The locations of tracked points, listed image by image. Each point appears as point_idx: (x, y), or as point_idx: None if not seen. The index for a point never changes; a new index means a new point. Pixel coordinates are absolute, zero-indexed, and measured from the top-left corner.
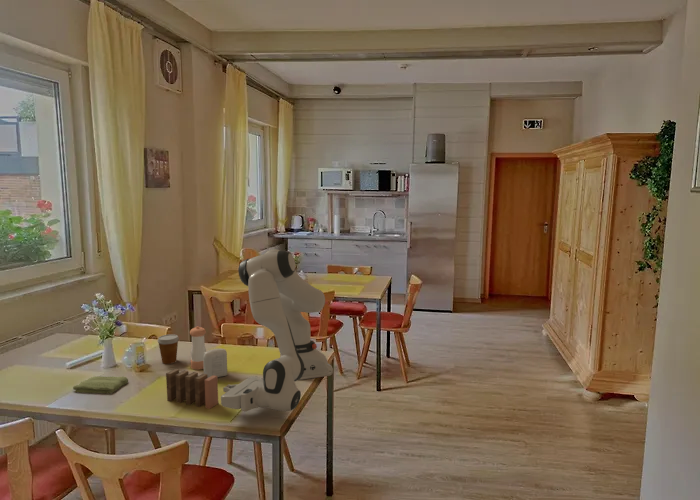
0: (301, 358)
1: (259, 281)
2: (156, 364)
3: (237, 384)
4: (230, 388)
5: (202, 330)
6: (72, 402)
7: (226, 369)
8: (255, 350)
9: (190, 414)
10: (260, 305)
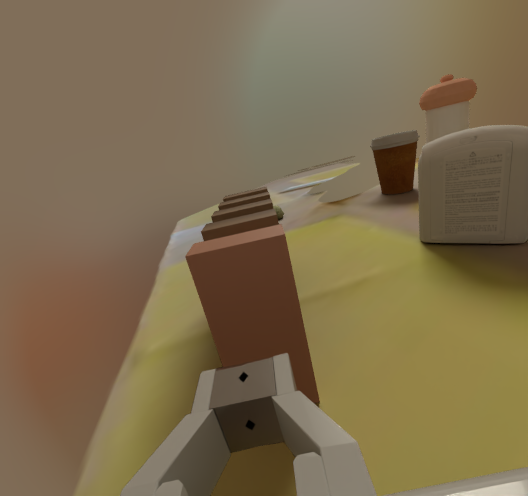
0: None
1: None
2: (369, 194)
3: (351, 453)
4: (270, 424)
5: (458, 82)
6: (190, 234)
7: (523, 219)
8: None
9: (161, 388)
10: None
